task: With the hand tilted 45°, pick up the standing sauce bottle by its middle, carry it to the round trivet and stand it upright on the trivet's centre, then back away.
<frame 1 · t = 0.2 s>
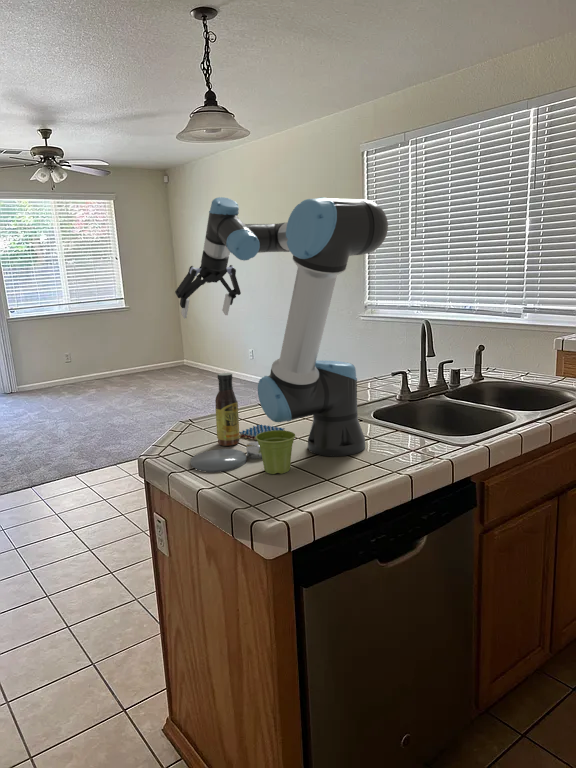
hand: (204, 314, 174), 35 cm above the countertop, tool tilted 30°, fingers open, 13 cm apart
sauce bottle: (229, 444, 158), on the countertop
trivet: (218, 462, 143), on the countertop
woven mat: (262, 437, 165), on the countertop
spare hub: (258, 455, 147), on the countertop
plant pot: (277, 470, 136), on the countertop
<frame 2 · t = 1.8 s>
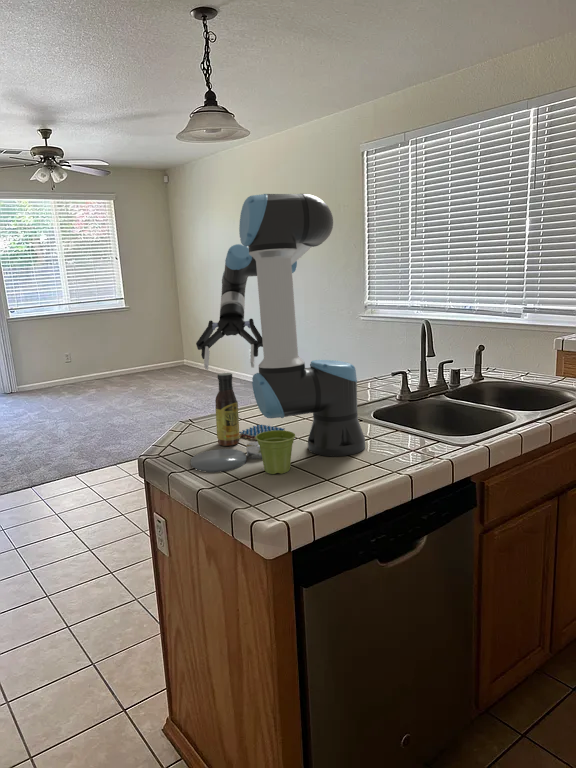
hand: (229, 366, 164), 20 cm above the countertop, tool tilted 45°, fingers open, 13 cm apart
nothing on the countertop moved.
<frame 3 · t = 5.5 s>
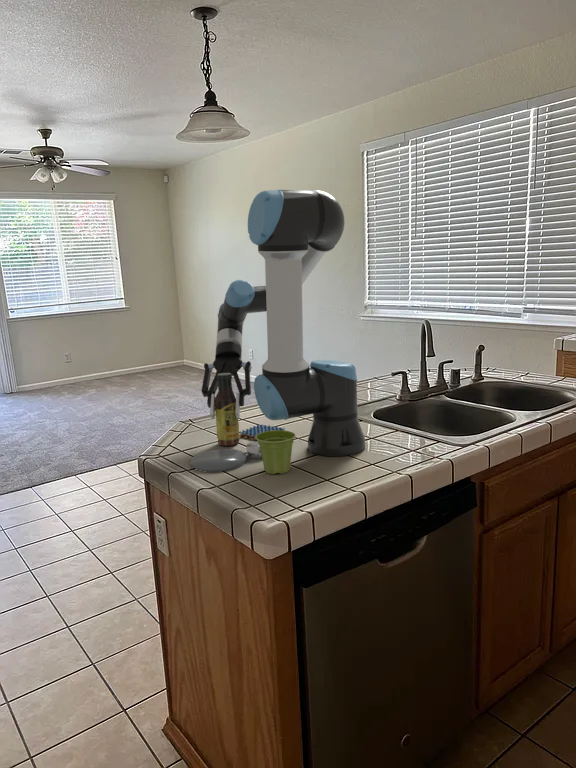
hand: (224, 416, 153), 9 cm above the countertop, tool tilted 45°, fingers closed on sauce bottle, 6 cm apart
sauce bottle: (229, 444, 158), on the countertop, touching gripper
everything else where it was.
when the fingers open (11 cm above the countertop, at t = 11.0 s): sauce bottle drops 1 cm, resting on trivet.
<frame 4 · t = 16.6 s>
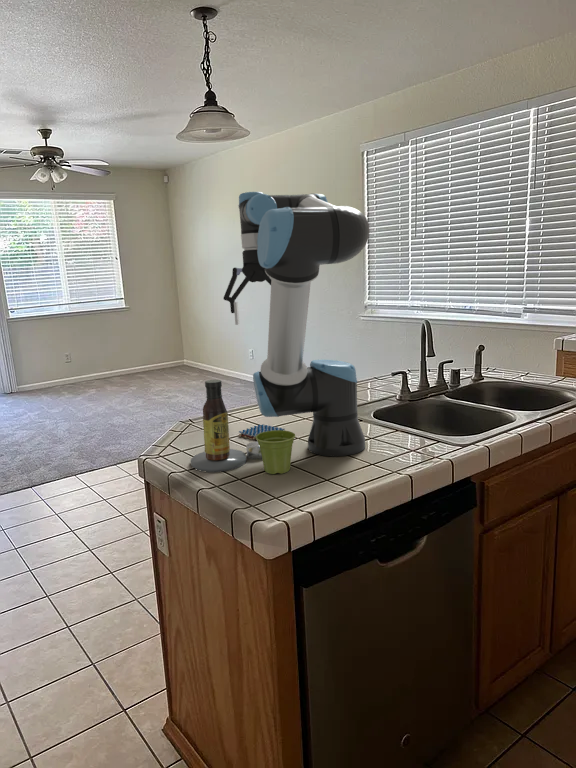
hand: (260, 323, 166), 32 cm above the countertop, tool pointing down, fingers open, 13 cm apart
sauce bottle: (218, 458, 143), point 1 cm above the countertop, touching trivet
everything else where it was.
at the end: sauce bottle 0.1 cm from the trivet (horizontally); sauce bottle tilted 0°; sauce bottle touching trivet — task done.
